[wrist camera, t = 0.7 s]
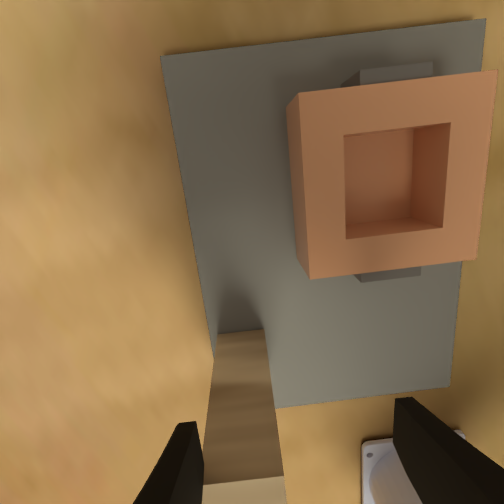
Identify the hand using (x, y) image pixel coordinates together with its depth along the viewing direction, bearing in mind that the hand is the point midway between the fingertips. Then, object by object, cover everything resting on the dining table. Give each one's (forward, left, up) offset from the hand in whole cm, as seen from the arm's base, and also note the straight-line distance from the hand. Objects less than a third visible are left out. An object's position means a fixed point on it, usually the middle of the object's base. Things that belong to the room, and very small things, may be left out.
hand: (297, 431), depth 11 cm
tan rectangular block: (-2, +2, -8) cm, 9 cm away
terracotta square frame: (+8, -6, -8) cm, 13 cm away
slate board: (+4, -4, -10) cm, 11 cm away
